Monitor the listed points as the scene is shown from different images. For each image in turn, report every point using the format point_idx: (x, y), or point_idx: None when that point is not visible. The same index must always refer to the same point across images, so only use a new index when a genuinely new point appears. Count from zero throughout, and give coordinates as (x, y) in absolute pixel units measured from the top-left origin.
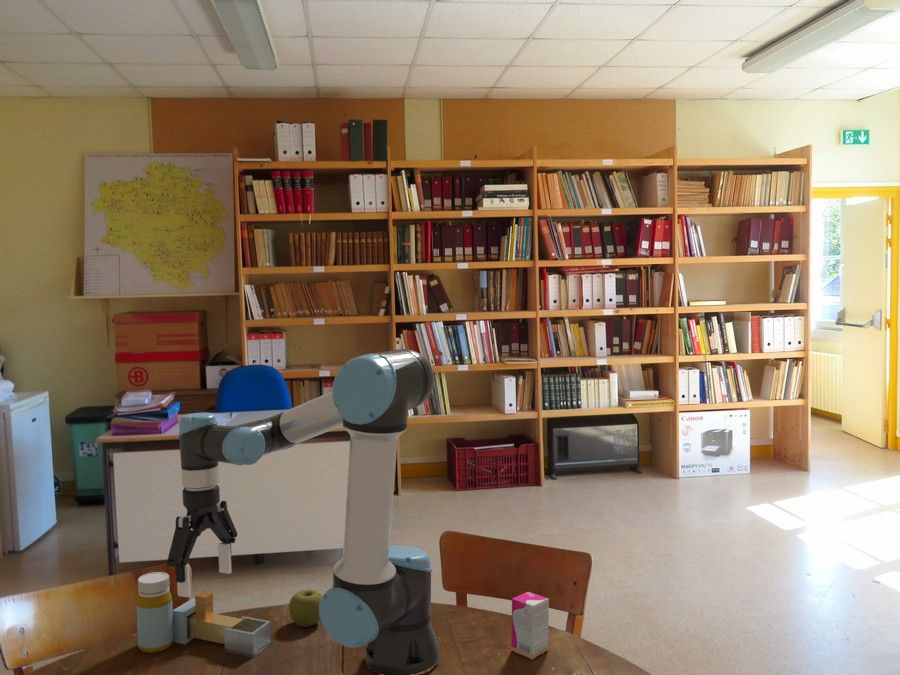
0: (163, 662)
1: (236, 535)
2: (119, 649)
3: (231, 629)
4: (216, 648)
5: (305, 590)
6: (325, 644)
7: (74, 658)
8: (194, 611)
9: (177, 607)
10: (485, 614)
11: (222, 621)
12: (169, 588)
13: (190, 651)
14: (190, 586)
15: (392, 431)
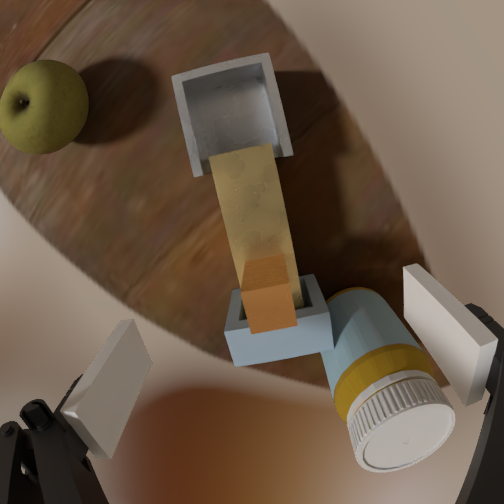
0: (396, 243)
1: (6, 424)
2: None
3: (283, 131)
4: (285, 189)
5: (9, 125)
6: (123, 2)
7: (437, 382)
8: None
9: (311, 353)
10: None
11: (259, 201)
12: (361, 394)
13: (331, 233)
14: (421, 285)
15: None
